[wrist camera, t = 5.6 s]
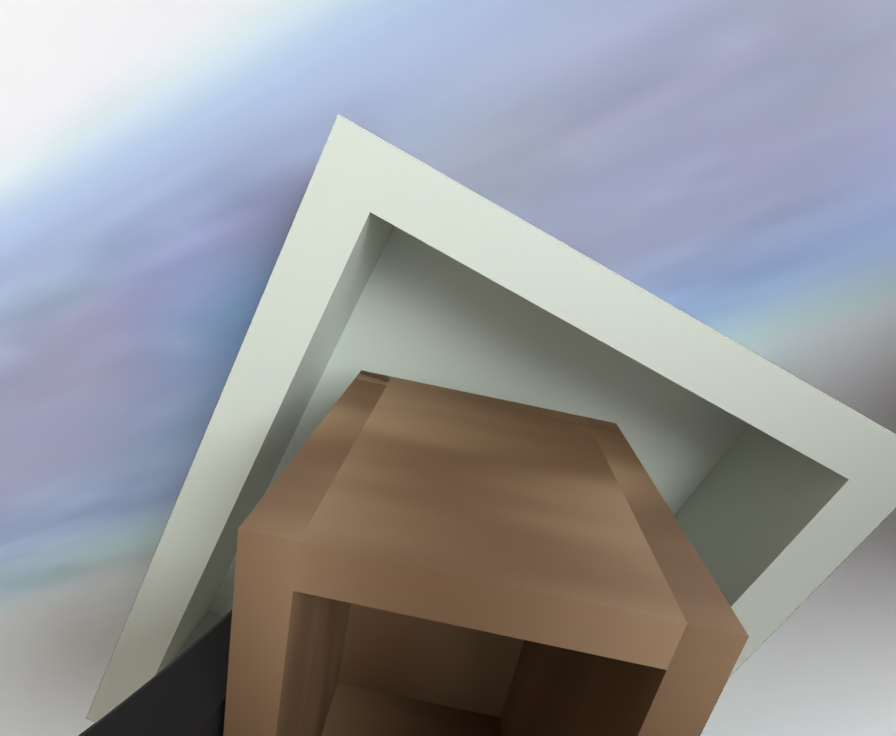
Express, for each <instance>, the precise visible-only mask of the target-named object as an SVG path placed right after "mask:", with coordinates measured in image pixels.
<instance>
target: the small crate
mask: <svg viewBox="0 0 896 736" xmlns="http://www.w3.org/2000/svg"><path fill="white" fill-rule="evenodd" d="M748 638H749V635H748V634H747V632H746V631H745V629H744V627H743V626H742V624H741V623H740V621H739V619H738V618H737V616H736V615H735V613H734V611H733V610H732V608H731V607H730V605H729V603H728V602H727V600H726V599H725V597H724V595H723V594H722V592H721V591H720V589H719V587H718V586H717V584H716V582H715V581H714V579H713V578H712V576H711V574H710V573H709V571H708V570H707V568H706V566H705V565H704V563H703V562H702V560H701V558H700V557H699V555H698V554H697V552H696V550H695V549H694V547H693V546H692V544H691V542H690V541H689V539H688V538H687V536H686V534H685V533H684V531H683V530H682V528H681V526H680V525H679V523H678V521H677V520H676V518H675V517H674V515H673V513H672V512H671V510H670V509H669V507H668V505H667V504H666V502H665V501H664V499H663V497H662V496H661V494H660V493H659V491H658V489H657V488H656V486H655V485H654V483H653V481H652V480H651V478H650V477H649V475H648V473H647V472H646V470H645V469H644V467H643V465H642V464H641V462H640V460H639V459H638V457H637V456H636V454H635V452H634V451H633V449H632V448H631V446H630V444H629V443H628V441H627V440H626V438H625V436H624V435H623V433H622V432H621V430H620V428H619V427H618V425H617V424H616V423H613V422H608V421H603V420H598V419H593V418H589V417H584V416H579V415H574V414H569V413H565V412H560V411H555V410H550V409H545V408H541V407H536V406H531V405H526V404H521V403H516V402H512V401H507V400H502V399H497V398H492V397H488V396H483V395H478V394H473V393H468V392H463V391H459V390H454V389H449V388H444V387H439V386H435V385H430V384H425V383H420V382H415V381H411V380H406V379H401V378H396V377H391V376H386V375H382V374H377V373H372V372H367V371H362V370H361V371H360V373H359V374H358V375H357V376H356V378H355V379H354V380H353V382H352V383H351V384H350V385H349V387H348V388H347V389H346V391H345V392H344V393H343V394H342V396H341V397H340V398H339V400H338V401H337V402H336V403H335V405H334V406H333V407H332V409H331V410H330V411H329V412H328V414H327V415H326V416H325V418H324V419H323V420H322V421H321V423H320V424H319V425H318V427H317V428H316V429H315V430H314V432H313V433H312V434H311V436H310V437H309V438H308V439H307V441H306V442H305V443H304V445H303V446H302V447H301V448H300V450H299V451H298V452H297V454H296V455H295V456H294V457H293V459H292V460H291V461H290V463H289V464H288V465H287V466H286V468H285V469H284V470H283V472H282V473H281V474H280V475H279V477H278V478H277V479H276V481H275V482H274V483H273V484H272V486H271V487H270V488H269V490H268V491H267V492H266V493H265V495H264V496H263V497H262V499H261V500H260V501H259V502H258V504H257V505H256V506H255V508H254V509H253V510H252V511H251V513H250V514H249V515H248V517H247V518H246V519H245V520H244V522H243V523H242V524H241V526H240V527H239V528H238V536H237V550H236V564H235V578H234V592H233V606H232V620H231V634H230V648H229V662H228V676H227V690H226V704H225V718H224V732H223V736H700V734H701V732H702V730H703V728H704V726H705V724H706V722H707V720H708V718H709V716H710V714H711V712H712V710H713V708H714V706H715V704H716V702H717V700H718V698H719V696H720V694H721V692H722V690H723V688H724V686H725V684H726V682H727V680H728V678H729V676H730V674H731V672H732V670H733V668H734V666H735V664H736V662H737V660H738V658H739V656H740V654H741V652H742V650H743V648H744V646H745V644H746V642H747V640H748Z"/></svg>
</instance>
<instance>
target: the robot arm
mask: <svg viewBox="0 0 896 736" xmlns="http://www.w3.org/2000/svg"><path fill="white" fill-rule="evenodd" d="M231 620H232V610H230V611H229V612H228V613H227V614H226V615H225V616H224V617H223V618H222V619H221V620H220V621H218V622H217V623H216V624H215V625H214V626H213V627H212V628H211V629H210V630H208V631H207V632H206V633H205V634H204V635H203V636H201V637H200V638H199V639H198V640H197V641H196V642H194V643H193V644H192V645H191V646H190V647H189V648H188V649H186V650H185V651H184V652H183V653H182V654H181V655H179V656H178V657H177V658H176V659H175V660H174V661H173V662H171V663H170V664H169V665H168V666H167V667H165V668H164V669H163V670H162V671H161V672H159V673H158V674H157V675H156V676H154V677H153V678H152V679H151V680H149V681H148V682H147V683H146V684H144V685H143V686H142V687H140V688H139V689H138V690H137V691H135V692H134V693H133V694H132V695H130V696H129V697H128V698H127V699H125V700H124V701H123V702H122V703H120V704H119V705H118V706H117V707H115V708H114V709H113V710H112V711H110V712H109V713H108V714H106V715H105V716H104V717H103V718H101V719H100V720H99V721H97V722H96V723H95V724H93V725H92V726H91V727H89V728H88V729H87V730H85V731H84V732H83V733H81V734H80V735H79V736H223V732H224V718H225V704H226V690H227V676H228V662H229V648H230V634H231Z"/></svg>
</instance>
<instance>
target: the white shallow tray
mask: <svg viewBox="0 0 896 736" xmlns="http://www.w3.org/2000/svg"><path fill="white" fill-rule="evenodd" d="M361 370H362V371H367V372H372V373H377V374H382V375H386V376H391V377H396V378H401V379H406V380H411V381H415V382H420V383H425V384H430V385H435V386H439V387H444V388H449V389H454V390H459V391H463V392H468V393H473V394H478V395H483V396H488V397H492V398H497V399H502V400H507V401H512V402H516V403H521V404H526V405H531V406H536V407H541V408H545V409H550V410H555V411H560V412H565V413H569V414H574V415H579V416H584V417H589V418H593V419H598V420H603V421H608V422H613V423H616V424H617V425H618V427H619V428H620V430H621V432H622V433H623V435H624V436H625V438H626V440H627V441H628V443H629V444H630V446H631V448H632V449H633V451H634V452H635V454H636V456H637V457H638V459H639V460H640V462H641V464H642V465H643V467H644V469H645V470H646V472H647V473H648V475H649V477H650V478H651V480H652V481H653V483H654V485H655V486H656V488H657V489H658V491H659V493H660V494H661V496H662V497H663V499H664V501H665V502H666V504H667V505H668V507H669V509H670V510H671V512H672V513H673V515H674V517H675V518H676V520H677V521H678V523H679V525H680V526H681V528H682V530H683V531H684V533H685V534H686V536H687V538H688V539H689V541H690V542H691V544H692V546H693V547H694V549H695V550H696V552H697V554H698V555H699V557H700V558H701V560H702V562H703V563H704V565H705V566H706V568H707V570H708V571H709V573H710V574H711V576H712V578H713V579H714V581H715V582H716V584H717V586H718V587H719V589H720V591H721V592H722V594H723V595H724V597H725V599H726V600H727V602H728V603H729V605H730V607H731V608H732V610H733V611H734V613H735V615H736V616H737V618H738V619H739V621H740V623H741V624H742V626H743V627H744V629H745V631H746V632H747V634H748V635H749V638H748V640H747V642H746V644H745V646H744V648H743V650H742V652H741V654H740V656H739V658H738V660H737V662H736V664H735V666H734V668H733V670H732V672H731V674H730V676H731V675H732V674H733V673H734V672H735V671H736V670H737V669H738V668H739V667H740V666H741V665H742V664H743V663H744V662H745V661H746V660H747V658H748V657H749V656H750V655H751V654H752V653H753V652H754V651H755V650H756V649H757V648H758V647H759V646H760V645H761V644H762V643H763V642H764V641H765V640H766V639H767V638H768V637H769V636H770V635H771V634H772V633H773V632H774V631H775V630H776V629H777V628H778V627H779V626H780V625H781V624H782V623H783V622H784V621H785V620H786V619H787V618H788V617H789V616H790V615H791V614H792V613H793V612H794V611H795V610H796V609H797V608H798V607H799V606H800V605H801V604H802V603H803V602H804V601H805V600H806V598H807V597H808V596H809V595H810V594H811V593H812V592H813V591H814V590H815V589H816V588H817V587H818V586H819V585H820V584H821V583H822V582H823V581H824V580H825V579H826V578H827V577H828V576H829V575H830V574H831V573H832V572H833V571H834V570H835V569H836V568H837V567H838V566H839V565H840V564H841V563H842V562H843V561H844V560H845V559H846V558H847V557H848V556H849V555H850V554H851V553H852V552H853V551H854V550H855V549H856V548H857V547H858V546H859V545H860V544H861V543H862V542H863V541H864V539H865V538H866V537H867V536H868V535H869V534H870V533H871V532H872V531H873V530H874V529H875V528H876V527H877V526H878V525H879V524H880V523H881V522H882V521H883V520H884V519H885V518H886V517H887V516H888V515H889V514H890V513H891V512H892V511H893V510H894V509H895V508H896V434H895V433H893V432H892V431H890V430H888V429H886V428H885V427H883V426H881V425H879V424H878V423H876V422H874V421H873V420H871V419H869V418H867V417H866V416H864V415H862V414H860V413H859V412H857V411H855V410H853V409H852V408H850V407H848V406H846V405H845V404H843V403H841V402H839V401H838V400H836V399H834V398H832V397H831V396H829V395H827V394H825V393H824V392H822V391H820V390H818V389H817V388H815V387H813V386H811V385H810V384H808V383H806V382H805V381H803V380H801V379H799V378H798V377H796V376H794V375H792V374H791V373H789V372H787V371H785V370H784V369H782V368H780V367H778V366H777V365H775V364H773V363H771V362H770V361H768V360H766V359H764V358H763V357H761V356H759V355H757V354H756V353H754V352H752V351H750V350H749V349H747V348H745V347H743V346H742V345H740V344H738V343H736V342H735V341H733V340H731V339H730V338H728V337H726V336H724V335H723V334H721V333H719V332H717V331H716V330H714V329H712V328H710V327H709V326H707V325H705V324H703V323H702V322H700V321H698V320H696V319H695V318H693V317H691V316H689V315H688V314H686V313H684V312H682V311H681V310H679V309H677V308H675V307H674V306H672V305H670V304H668V303H667V302H665V301H663V300H662V299H660V298H658V297H656V296H655V295H653V294H651V293H649V292H648V291H646V290H644V289H642V288H641V287H639V286H637V285H635V284H634V283H632V282H630V281H628V280H627V279H625V278H623V277H621V276H620V275H618V274H616V273H614V272H613V271H611V270H609V269H607V268H606V267H604V266H602V265H600V264H599V263H597V262H595V261H594V260H592V259H590V258H588V257H587V256H585V255H583V254H581V253H580V252H578V251H576V250H574V249H573V248H571V247H569V246H567V245H566V244H564V243H562V242H560V241H559V240H557V239H555V238H553V237H552V236H550V235H548V234H546V233H545V232H543V231H541V230H539V229H538V228H536V227H534V226H532V225H531V224H529V223H527V222H525V221H524V220H522V219H520V218H519V217H517V216H515V215H513V214H512V213H510V212H508V211H506V210H505V209H503V208H501V207H499V206H498V205H496V204H494V203H492V202H491V201H489V200H487V199H485V198H484V197H482V196H480V195H478V194H477V193H475V192H473V191H471V190H470V189H468V188H466V187H464V186H463V185H461V184H459V183H457V182H456V181H454V180H452V179H451V178H449V177H447V176H445V175H444V174H442V173H440V172H438V171H437V170H435V169H433V168H431V167H430V166H428V165H426V164H424V163H423V162H421V161H419V160H417V159H416V158H414V157H412V156H410V155H409V154H407V153H405V152H403V151H402V150H400V149H398V148H396V147H395V146H393V145H391V144H389V143H388V142H386V141H384V140H383V139H381V138H379V137H377V136H376V135H374V134H372V133H370V132H369V131H367V130H365V129H363V128H362V127H360V126H358V125H356V124H355V123H353V122H351V121H349V120H348V119H346V118H344V117H342V116H341V115H339V114H338V116H337V118H336V121H335V123H334V125H333V128H332V130H331V133H330V135H329V137H328V140H327V142H326V145H325V147H324V149H323V152H322V154H321V157H320V159H319V161H318V164H317V166H316V169H315V171H314V173H313V176H312V178H311V180H310V183H309V185H308V188H307V190H306V192H305V195H304V197H303V200H302V202H301V204H300V207H299V209H298V212H297V214H296V216H295V219H294V221H293V224H292V226H291V228H290V231H289V233H288V236H287V238H286V240H285V243H284V245H283V248H282V250H281V252H280V255H279V257H278V260H277V262H276V264H275V267H274V269H273V271H272V274H271V276H270V279H269V281H268V283H267V286H266V288H265V291H264V293H263V295H262V298H261V300H260V303H259V305H258V307H257V310H256V312H255V315H254V317H253V319H252V322H251V324H250V327H249V329H248V331H247V334H246V336H245V339H244V341H243V343H242V346H241V348H240V351H239V353H238V355H237V358H236V360H235V362H234V365H233V367H232V370H231V372H230V374H229V377H228V379H227V382H226V384H225V386H224V389H223V391H222V394H221V396H220V398H219V401H218V403H217V406H216V408H215V410H214V413H213V415H212V418H211V420H210V422H209V425H208V427H207V430H206V432H205V434H204V437H203V439H202V442H201V444H200V446H199V449H198V451H197V454H196V456H195V458H194V461H193V463H192V465H191V468H190V470H189V473H188V475H187V477H186V480H185V482H184V485H183V487H182V489H181V492H180V494H179V497H178V499H177V501H176V504H175V506H174V509H173V511H172V513H171V516H170V518H169V521H168V523H167V525H166V528H165V530H164V533H163V535H162V537H161V540H160V542H159V545H158V547H157V549H156V552H155V554H154V556H153V559H152V561H151V564H150V566H149V568H148V571H147V573H146V576H145V578H144V580H143V583H142V585H141V588H140V590H139V592H138V595H137V597H136V600H135V602H134V604H133V607H132V609H131V612H130V614H129V616H128V619H127V621H126V624H125V626H124V628H123V631H122V633H121V636H120V638H119V640H118V643H117V645H116V647H115V650H114V652H113V655H112V657H111V659H110V662H109V664H108V667H107V669H106V671H105V674H104V676H103V679H102V681H101V683H100V686H99V688H98V691H97V693H96V695H95V698H94V700H93V703H92V705H91V707H90V710H89V712H88V715H87V717H86V718H87V719H89V720H91V721H93V722H97V721H99V720H100V719H101V718H103V717H104V716H105V715H106V714H108V713H109V712H110V711H112V710H113V709H114V708H115V707H117V706H118V705H119V704H120V703H122V702H123V701H124V700H125V699H127V698H128V697H129V696H130V695H132V694H133V693H134V692H135V691H137V690H138V689H139V688H140V687H142V686H143V685H144V684H146V683H147V682H148V681H149V680H151V679H152V678H153V677H154V676H156V675H157V674H158V673H159V672H161V671H162V670H163V669H164V668H165V667H167V666H168V665H169V664H170V663H171V662H173V661H174V660H175V659H176V658H177V657H178V656H179V655H181V654H182V653H183V652H184V651H185V650H186V649H188V648H189V647H190V646H191V645H192V644H193V643H194V642H196V641H197V640H198V639H199V638H200V637H201V636H203V635H204V634H205V633H206V632H207V631H208V630H210V629H211V628H212V627H213V626H214V625H215V624H216V623H217V622H218V621H220V620H221V619H222V618H223V617H224V616H225V615H226V614H227V613H228V612H229V611H230V610H232V606H233V592H234V578H235V564H236V550H237V536H238V528H239V527H240V526H241V524H242V523H243V522H244V520H245V519H246V518H247V517H248V515H249V514H250V513H251V511H252V510H253V509H254V508H255V506H256V505H257V504H258V502H259V501H260V500H261V499H262V497H263V496H264V495H265V493H266V492H267V491H268V490H269V488H270V487H271V486H272V484H273V483H274V482H275V481H276V479H277V478H278V477H279V475H280V474H281V473H282V472H283V470H284V469H285V468H286V466H287V465H288V464H289V463H290V461H291V460H292V459H293V457H294V456H295V455H296V454H297V452H298V451H299V450H300V448H301V447H302V446H303V445H304V443H305V442H306V441H307V439H308V438H309V437H310V436H311V434H312V433H313V432H314V430H315V429H316V428H317V427H318V425H319V424H320V423H321V421H322V420H323V419H324V418H325V416H326V415H327V414H328V412H329V411H330V410H331V409H332V407H333V406H334V405H335V403H336V402H337V401H338V400H339V398H340V397H341V396H342V394H343V393H344V392H345V391H346V389H347V388H348V387H349V385H350V384H351V383H352V382H353V380H354V379H355V378H356V376H357V375H358V374H359V373H360V371H361ZM730 676H729V677H730Z"/></svg>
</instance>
